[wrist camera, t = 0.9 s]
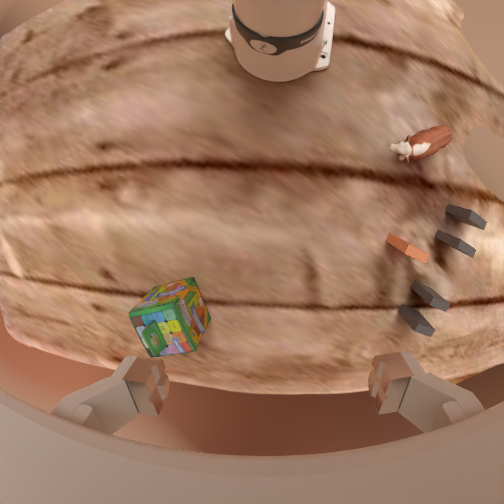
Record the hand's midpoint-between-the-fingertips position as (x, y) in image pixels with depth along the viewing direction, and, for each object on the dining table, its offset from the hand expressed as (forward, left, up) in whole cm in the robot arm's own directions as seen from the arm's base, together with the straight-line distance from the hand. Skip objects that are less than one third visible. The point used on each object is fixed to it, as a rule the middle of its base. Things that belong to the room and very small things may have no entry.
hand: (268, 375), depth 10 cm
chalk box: (+21, -10, -39) cm, 45 cm away
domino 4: (-15, +33, -38) cm, 53 cm away
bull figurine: (-22, +18, -39) cm, 48 cm away
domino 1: (-5, +23, -38) cm, 45 cm away
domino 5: (-10, +33, -38) cm, 52 cm away
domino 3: (+7, +33, -38) cm, 51 cm away
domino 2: (+1, +33, -38) cm, 51 cm away
